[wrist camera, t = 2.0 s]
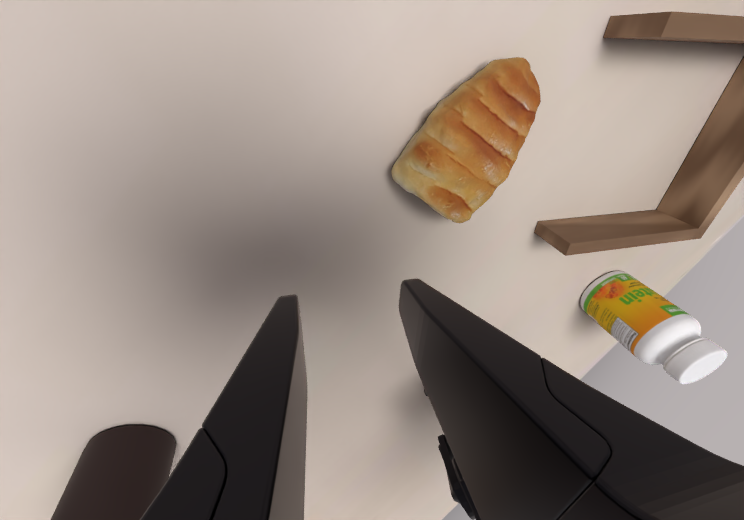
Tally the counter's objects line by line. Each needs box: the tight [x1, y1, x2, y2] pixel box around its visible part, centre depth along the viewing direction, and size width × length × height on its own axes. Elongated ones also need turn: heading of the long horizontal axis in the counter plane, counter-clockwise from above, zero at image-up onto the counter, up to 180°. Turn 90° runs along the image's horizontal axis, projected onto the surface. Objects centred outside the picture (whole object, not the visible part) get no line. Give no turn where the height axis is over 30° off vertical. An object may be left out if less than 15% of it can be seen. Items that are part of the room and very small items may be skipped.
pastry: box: [391, 57, 540, 223], centre depth 19 cm, size 9×7×4 cm
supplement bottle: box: [581, 271, 727, 384], centre depth 29 cm, size 5×5×10 cm
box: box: [534, 12, 744, 256], centre depth 22 cm, size 14×13×4 cm
